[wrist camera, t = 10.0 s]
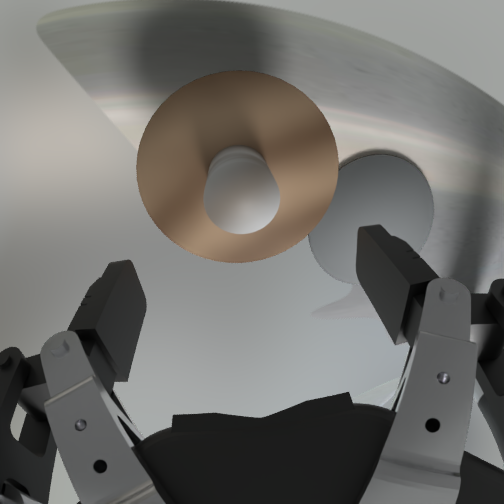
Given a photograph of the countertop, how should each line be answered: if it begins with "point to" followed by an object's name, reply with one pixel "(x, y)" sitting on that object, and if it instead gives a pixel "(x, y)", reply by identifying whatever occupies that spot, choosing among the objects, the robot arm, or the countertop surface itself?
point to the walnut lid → (237, 166)
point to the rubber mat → (372, 211)
